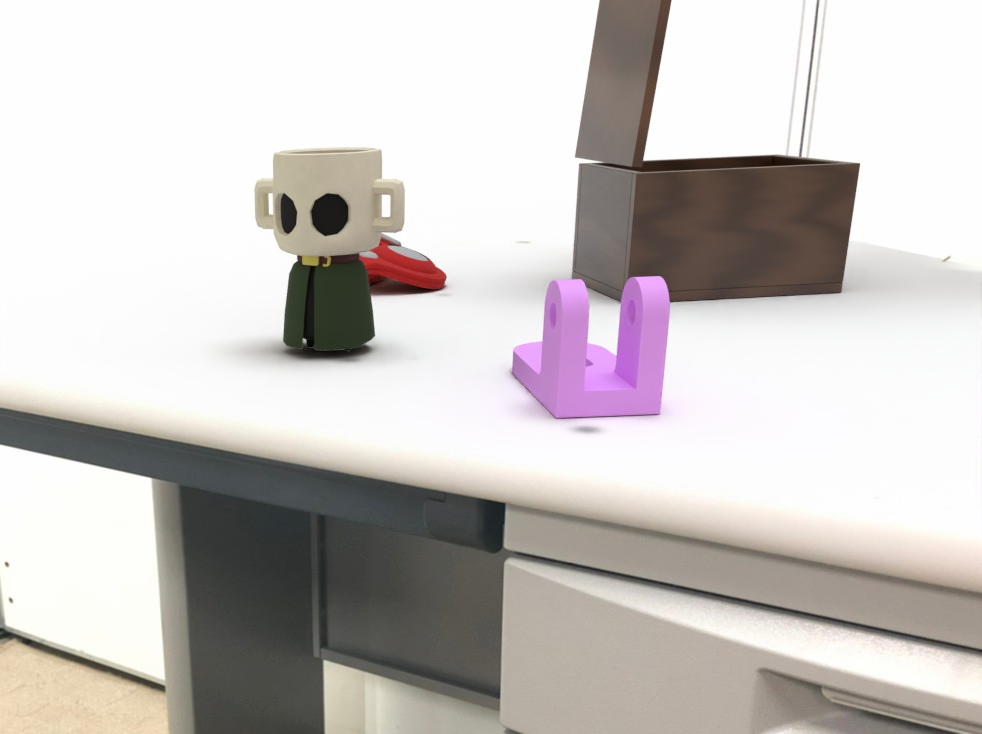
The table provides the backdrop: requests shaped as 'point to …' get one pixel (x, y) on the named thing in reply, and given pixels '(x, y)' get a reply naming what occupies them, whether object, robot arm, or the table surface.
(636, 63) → the lid
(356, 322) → the character mug
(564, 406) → the bracket
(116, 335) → the table surface
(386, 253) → the tracker holder
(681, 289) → the walnut box
